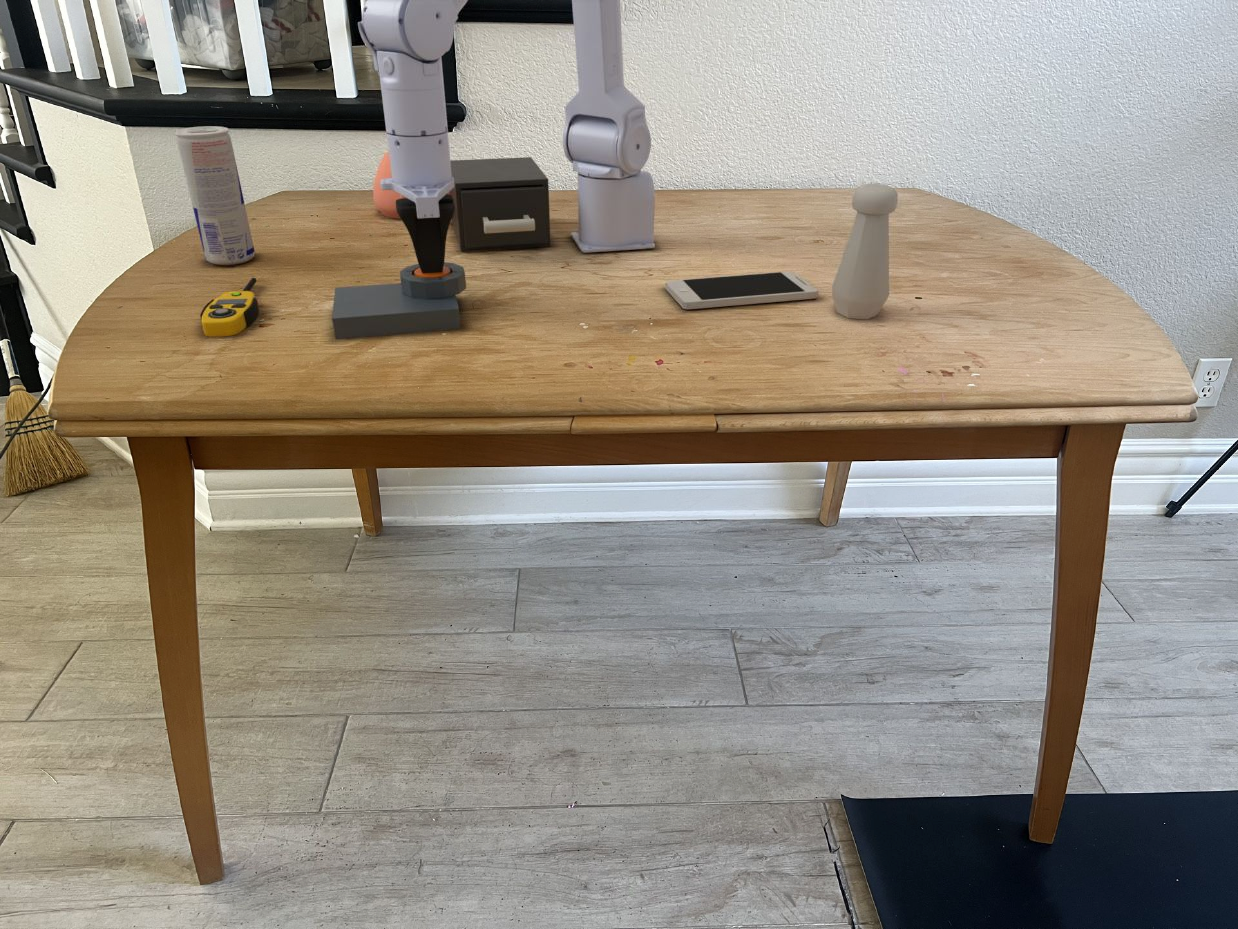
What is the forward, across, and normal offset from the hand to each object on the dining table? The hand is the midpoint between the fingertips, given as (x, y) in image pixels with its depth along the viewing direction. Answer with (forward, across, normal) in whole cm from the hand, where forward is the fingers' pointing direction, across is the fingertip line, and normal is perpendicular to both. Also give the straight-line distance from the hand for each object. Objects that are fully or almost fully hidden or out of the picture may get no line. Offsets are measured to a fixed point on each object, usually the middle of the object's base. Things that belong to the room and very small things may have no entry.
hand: (432, 271), depth 88 cm
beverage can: (+4, -22, -23) cm, 32 cm away
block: (+4, +2, -4) cm, 6 cm away
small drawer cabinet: (+4, -26, +10) cm, 28 cm away
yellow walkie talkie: (+4, -4, -20) cm, 21 cm away
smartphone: (+4, +3, +33) cm, 33 cm away
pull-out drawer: (+3, -22, +10) cm, 25 cm away
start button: (+2, 0, 0) cm, 2 cm away
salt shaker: (+4, +11, +43) cm, 45 cm away
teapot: (+4, -40, 0) cm, 40 cm away
